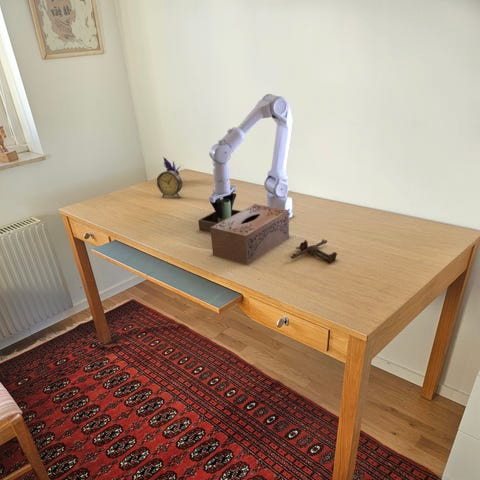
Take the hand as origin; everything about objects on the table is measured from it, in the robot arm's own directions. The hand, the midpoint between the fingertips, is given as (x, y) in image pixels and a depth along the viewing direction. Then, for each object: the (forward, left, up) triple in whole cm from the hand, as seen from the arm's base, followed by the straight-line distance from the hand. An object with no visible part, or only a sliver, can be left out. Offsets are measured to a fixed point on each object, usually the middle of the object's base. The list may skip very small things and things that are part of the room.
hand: (224, 215), depth 169 cm
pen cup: (0, 0, -2) cm, 2 cm away
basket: (0, 0, -5) cm, 5 cm away
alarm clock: (+45, -20, -5) cm, 49 cm away
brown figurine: (-41, +7, -5) cm, 42 cm away
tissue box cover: (-18, +10, -5) cm, 22 cm away
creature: (+60, -37, -5) cm, 71 cm away
